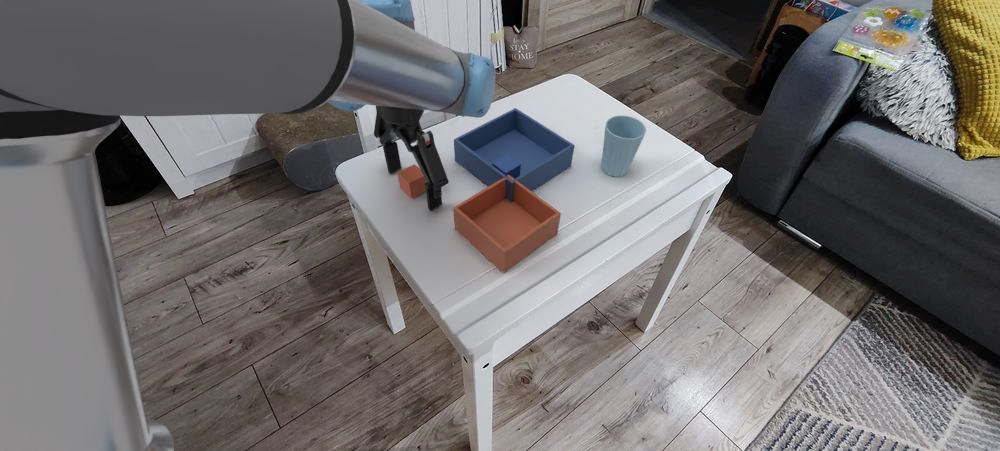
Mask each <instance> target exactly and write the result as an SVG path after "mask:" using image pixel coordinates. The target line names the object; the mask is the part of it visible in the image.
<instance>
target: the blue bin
mask: <svg viewBox="0 0 1000 451" xmlns="http://www.w3.org/2000/svg"><path fill="white" fill-rule="evenodd" d="M453 149H454V150H453V151H454V152H453V153H454V161H455V162H456V163H457V164H459V165H460V167H463V168H464V169H465V170H466V171H467V172H469V174H471V175H473V176H474V177H475V178H477V179H478V180H479V181H481V183H483V184H485V186H487V187H489V186H490V185H492V184H494V183H495V182H497V181H499V180H500V179H502V178H504V177H506V175H504V174H503V173H502V172H500V171H499V170H498V169H496V168H495V167H494V166H492V163H493V162H495V161H496V160H498V159H500V158H502V157H503V156H505V155H508V156H510V157H511V158H513V159H514V160H516V161H517V162H518V163H520V164H521V169H520V176H519V177H517V178H515V180H511V179H510V178H506V197H505V198H506V199H507V200H509V201H510V202H513V197H514V182H515V181H516V180H517V181H518V182H520V183H521V184H522V185H524V186H525V187H526V188H528V189H529V190H530V191H532V192H533V191H535V190H536V189H538V188H539V187H541V186H543V185H544V184H545V183H547V182H549V181H550V180H551V179H553V178H554V177H556V176H558V175H559V174H561V173H562V172H564V171H565V170H567V169H569V168H570V167H572V162H573V156H574V151H575V144H574V143H572V142H570V141H569V140H567V139H565V138H564V137H563V136H561V135H559V134H558V133H556V132H554V131H553V130H552V129H550V128H548V127H547V126H546V125H544V124H542V123H541V122H539V121H537V120H535V119H534V118H532V117H530V116H529V115H528V114H526V113H525V112H522V111H521V110H519V109H518V108H517V107H514V108H513V109H511V110H508V111H507V112H505V113H502V114H501V115H499V116H497V117H495V118H493V119H491V120H489V121H487V122H485V123H483V124H481V125H479V126H477V127H475V128H473V129H471V130H469V131H467V132H465V133H464V134H462V135H459V136H457V137H456V138H454V139H453Z"/></svg>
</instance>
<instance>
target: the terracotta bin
mask: <svg viewBox="0 0 1000 451" xmlns="http://www.w3.org/2000/svg"><path fill="white" fill-rule="evenodd" d="M506 178H510V179H511V180H515V179H514V178H513V177H511V176H510V175H507V176H506V177H504V178H502V179H500V180H499V181H497V182H495V183H494V184H492V185H490V186H489V187H488V186H487V187H485V188H483V189H481V190H480V191H478V192H477V193H475V194H473V195H472V196H470V197H468V198H466V200H463V201H462V202H459V204H456V205H455V206H454V207H452V210H453V212H452V213H453V225H454V230H455V231H456V232H457V233H458V234H459V235H461V236H462V237H463V238H464V239H465V240H466V241H467V242H469V243H470V244H471V245H472V246H473V247H474V248H475V249H476V250H478V251H479V252H480V253H481V254H482V255H483V256H484V257H485V258H486V259H488V261H490V262H491V263H492V264H493V265H494V266H495V267H496V268H497V269H498V270H500V271H501V272H502V273H503V274H505V273H506V272H508V270H510V269H511V268H513V267H514V266H516V265H517V264H519V262H521V261H522V260H524V259H525V258H527V257H528V256H530V255H531V254H532V253H534V252H535V251H537V249H539V248H540V247H542V246H543V245H544V244H546V243H547V242H549V241H550V240H551V239H553V238H554V237H556V236H557V235H558V232H559V227H560V223H561V222H560V221H561V215H562V213H561V212H560V211H559V210H557V209H556V208H555V207H553V206H552V205H551V204H550V203H548V202H546V201H545V200H544V199H542V198H541V197H540V196H538V195H537V194H536V193H535V192H533V191H530V190H529V189H528V188H526V187H525V186H524V185H522V184H521V183H520V182H518V181H517V180H516V181H515V182H514V197H513V202H510V201H509V200H507V199H506V198H505V197H506Z"/></svg>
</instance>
